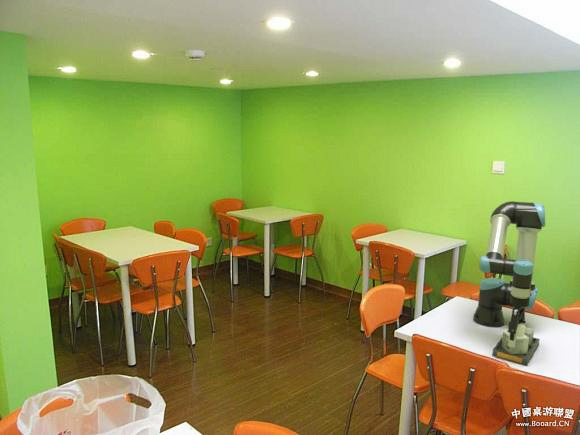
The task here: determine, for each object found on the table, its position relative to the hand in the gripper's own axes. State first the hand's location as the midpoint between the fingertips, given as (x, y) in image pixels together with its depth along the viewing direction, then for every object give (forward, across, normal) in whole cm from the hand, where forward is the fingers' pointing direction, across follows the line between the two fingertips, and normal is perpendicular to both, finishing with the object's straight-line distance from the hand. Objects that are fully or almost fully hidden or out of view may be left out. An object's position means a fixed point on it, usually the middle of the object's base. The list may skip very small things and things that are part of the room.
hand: (515, 341), depth 200 cm
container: (+4, 0, 0) cm, 4 cm away
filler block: (+4, +13, 0) cm, 13 cm away
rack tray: (+6, +5, 0) cm, 8 cm away
